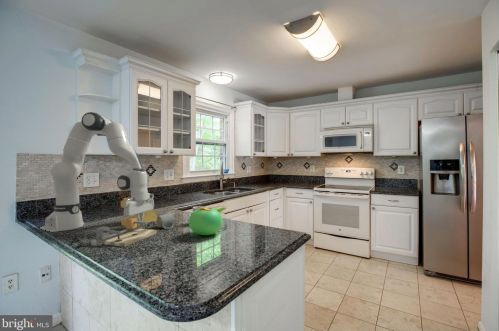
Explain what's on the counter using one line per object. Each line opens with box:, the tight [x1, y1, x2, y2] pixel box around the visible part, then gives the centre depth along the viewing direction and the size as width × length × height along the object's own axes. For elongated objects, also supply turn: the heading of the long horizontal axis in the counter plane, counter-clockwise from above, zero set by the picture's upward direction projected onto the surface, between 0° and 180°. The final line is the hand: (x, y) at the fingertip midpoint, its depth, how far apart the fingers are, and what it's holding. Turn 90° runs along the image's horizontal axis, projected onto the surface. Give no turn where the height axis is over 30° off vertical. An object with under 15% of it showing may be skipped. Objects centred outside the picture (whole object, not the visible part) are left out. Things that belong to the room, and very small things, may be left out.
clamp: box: [120, 197, 158, 227], centre depth 155 cm, size 20×9×16 cm, turn 136°
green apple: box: [188, 206, 227, 236], centre depth 128 cm, size 18×17×15 cm
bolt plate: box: [103, 228, 158, 248], centre depth 122 cm, size 12×22×2 cm, turn 163°
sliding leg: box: [125, 218, 148, 229], centre depth 132 cm, size 12×4×5 cm, turn 73°
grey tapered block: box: [90, 226, 139, 247], centre depth 123 cm, size 12×26×7 cm, turn 163°
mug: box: [190, 205, 208, 215], centre depth 149 cm, size 11×8×10 cm
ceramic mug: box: [156, 212, 175, 230], centre depth 142 cm, size 11×8×8 cm
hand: (139, 220), depth 139 cm, fingers closed
